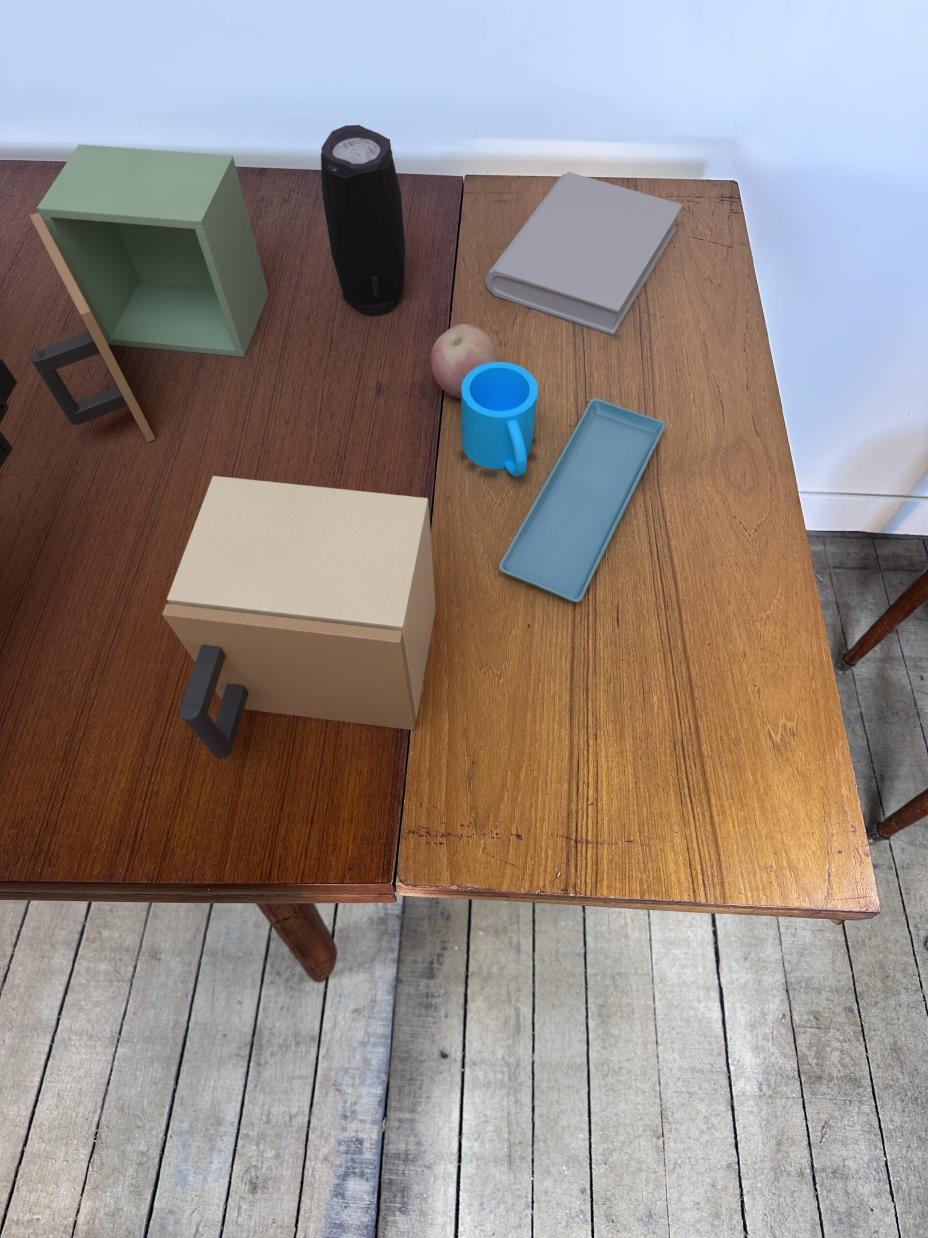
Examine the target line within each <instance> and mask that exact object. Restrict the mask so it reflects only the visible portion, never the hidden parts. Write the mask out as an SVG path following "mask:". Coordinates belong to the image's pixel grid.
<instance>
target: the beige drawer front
mask: <svg viewBox="0 0 928 1238" xmlns="http://www.w3.org/2000/svg"><path fill="white" fill-rule="evenodd" d="M161 615H162V617H163V618H164V620H165V621H166V623H167V624H168V625H169V627H170V628H171V629H172V631H173V632H174V634H175V636H176V637H177V638H178V640H179V641H180V642H181V644H182V645H183V647H184V648H185V650H186V651H187V652H188V654H189V655H190V657H191V658H192V659H193V660H194V662H195V663H194V666H193V669H192V671H191V674H190V678H189V681H188V684H187V686H186V690H185V693H184V695H183V698H182V701H181V704H180V706H179V711H178V713H179V716H180V718H182V720H183V721H184V722H185V723H186V724H187V725H188V726H189V728H190V729H191V730H192V731H193V733H194V734H195V735H196V736H197V737H198V739H199V740H200V741H201V742H202V743H203V744H204V745H205V747H206V748H207V749H208V750H209V751H210V753H211V754H213V756H214V757H215V758H216V759H218V760H224V759H227V758H228V757H229V756H230V755H231V754H232V751H233V748H234V744H235V741H236V738H237V734H238V731H239V727H240V725H241V720H242V717H243V714H244V710H248V711H253V712H254V711H256V712H263V713H270V714H280V715H287V716H295V717H302V718H303V717H304V718H311V719H319V720H327V721H335V722H341V723H342V722H344V723H350V724H351V723H352V724H360V725H367V726H368V725H369V726H375V727H382V728H392V729H399V730H400V729H401V730H407V731H415V730H416V725H417V719H416V717H415V711H414V704H413V697H412V691H411V684H410V678H409V671H408V665H407V658H406V651H405V645H404V638H403V632H402V631H398V630H389V629H381V628H372V627H363V626H355V625H346V624H337V623H329V622H320V621H312V620H303V619H294V618H286V617H277V616H269V615H260V614H251V613H243V612H234V611H225V610H217V609H208V608H200V607H191V606H182V605H174V604H170V603H166V604H165V605H164V609H163V610H162V613H161ZM215 693H216V695H218V697H219V698H220V700H221V701H220V703H219V708H218V711H217V714H216V718H215V721H214V720H213V719H212V718H211V717H210V715H209V714H208V713H209V711H210V708H211V705H212V701H213V699H214V695H215Z"/></svg>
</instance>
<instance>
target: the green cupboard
mask: <svg viewBox="0 0 928 1238" xmlns="http://www.w3.org/2000/svg"><path fill="white" fill-rule="evenodd" d="M36 211H37V213H38V212H39V214H40V215H41V217H42V219H43V221H44V223H45V225H46V227H47V229H48V231H49V233H50V235H51V236H52V238H53V240H54V242H55V244H56V246H57V248H58V250H59V252H60V254H61V256H62V257H63V259H64V261H65V263H66V265H67V267H68V269H69V271H70V273H71V275H72V276H73V278H74V280H75V282H76V284H77V286H78V288H79V290H80V292H81V294H82V296H83V297H84V299H85V301H86V303H87V305H88V307H89V309H90V311H91V313H92V315H93V317H94V319H95V321H96V323H97V325H98V327H99V328H100V330H101V332H102V334H103V336H104V338H105V340H106V342H107V344H108V346H110V345H111V346H120V347H121V346H122V347H131V348H144V349H151V350H152V349H153V350H154V349H155V350H162V351H163V350H165V351H176V352H186V353H194V354H195V353H196V354H208V355H216V356H229V357H239V358H245V356H246V354H247V352H248V349H249V347H250V344H251V342H252V338H253V336H254V333H255V331H256V329H257V326H258V324H259V320H260V318H261V316H262V314H263V313H262V312H263V310H264V307H265V305H266V302H267V300H268V297H269V295H270V293H269V289H268V286H267V282H266V278H265V274H264V270H263V266H262V262H261V259H260V254H259V251H258V247H257V243H256V239H255V235H254V231H253V228H252V224H251V221H250V220H251V219H250V216H249V213H248V209H247V205H246V201H245V197H244V194H243V190H242V186H241V181H240V179H239V175H238V171H237V166H236V163H235V159H234V156H233V155H225V154H214V153H200V152H188V151H186V152H185V151H176V150H175V151H174V150H173V151H172V150H162V149H161V150H160V149H146V148H135V147H134V148H133V147H120V146H106V145H93V144H81V143H79V144H78V145H77V146H76V148H75V150H74V151H73V152H72V154H71V156H70V157H69V158H68V160H67V161H66V163H65V164H64V166H63V168H62V169H61V170H60V172H59V173H58V175H57V176H56V178H55V179H54V181H53V182H52V184H51V186H50V187H49V189H48V190H47V191H46V193H45V195H44V196H43V198H42V199H41V200H40V202H39V204H38V205H37V206H36Z"/></svg>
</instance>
